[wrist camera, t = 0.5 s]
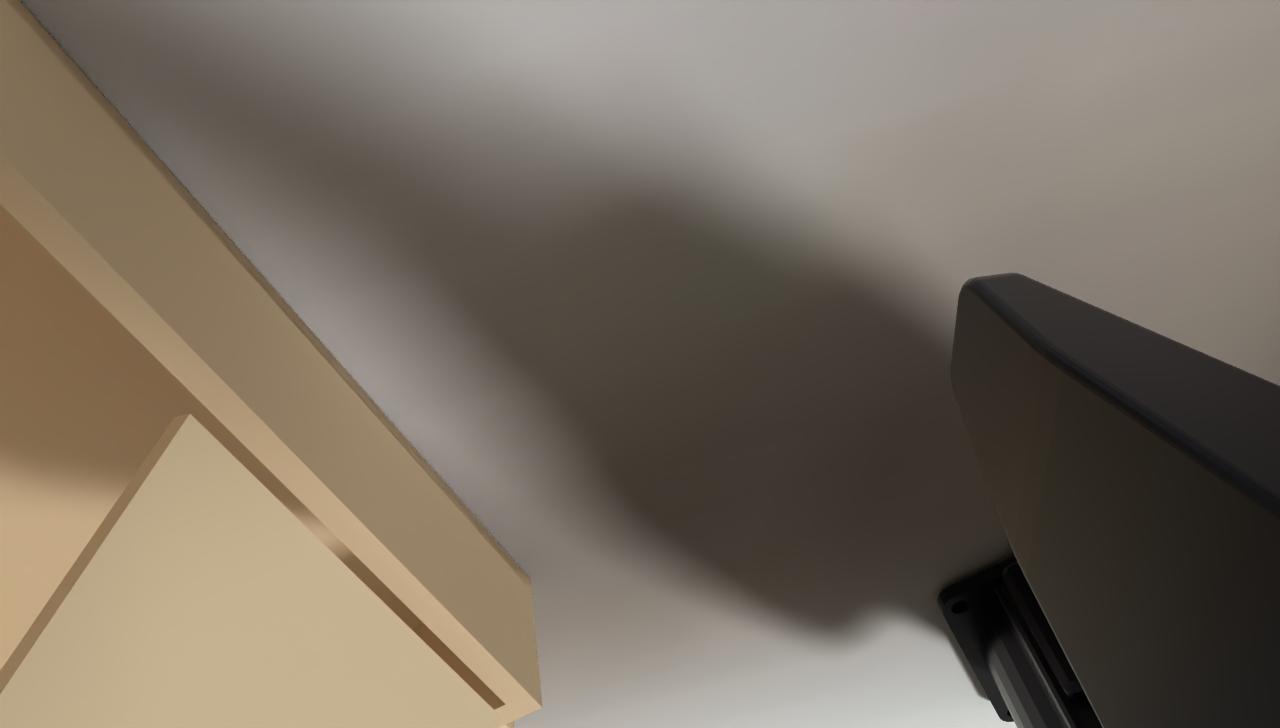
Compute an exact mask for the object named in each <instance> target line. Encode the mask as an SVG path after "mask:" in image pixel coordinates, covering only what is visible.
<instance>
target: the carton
mask: <svg viewBox="0 0 1280 728" xmlns="http://www.w3.org/2000/svg"><path fill="white" fill-rule="evenodd" d="M185 414H191V415H192V416H193V417H194V418H195V419H196V420H197V421H198V422H199V423H200V424H201V425H202V426H203V427H204V428H205V429H206V430H207V431H208V432H210V433H211V434H212V435H213V436H214V437H215V438H216V439H217V440H218V441H219V442H220V443H221V444H222V445H223V446H224V447H225V448H226V449H227V450H228V451H229V452H230V453H231V454H232V455H233V456H234V457H235V458H236V459H237V460H238V461H239V462H240V463H241V464H242V465H243V466H244V467H245V468H246V469H247V470H248V471H250V472H251V473H252V474H253V475H254V476H255V477H256V478H257V479H258V480H259V481H260V482H261V483H262V484H263V485H264V486H265V487H266V488H267V489H268V490H269V491H270V492H271V493H272V494H273V495H274V496H275V497H276V498H277V499H278V500H279V501H280V502H281V503H282V504H283V505H284V506H285V507H286V508H287V509H288V510H290V511H291V512H292V513H293V514H294V515H295V516H296V517H297V518H298V519H299V520H300V521H301V522H302V523H303V524H304V525H305V526H306V527H307V528H308V529H309V530H310V531H311V532H312V533H313V534H314V535H315V536H316V537H317V538H318V539H319V540H320V541H321V542H322V543H323V544H324V545H325V546H326V547H327V548H328V549H330V550H331V551H332V552H333V553H334V554H335V555H336V556H337V557H338V558H339V559H340V560H341V561H342V562H343V563H344V564H345V565H346V566H347V567H348V568H349V569H350V570H351V571H352V572H353V573H354V574H355V575H356V576H357V577H358V578H359V579H360V580H361V581H362V582H363V583H364V584H365V585H366V586H367V587H368V588H370V589H371V590H372V591H373V592H374V593H375V594H376V595H377V596H378V597H379V598H380V599H381V600H382V601H383V602H384V603H385V604H386V605H387V606H388V607H389V608H390V609H391V610H392V611H393V612H394V613H395V614H396V615H397V616H398V617H399V618H400V619H401V620H402V621H403V622H404V623H405V624H406V625H407V626H409V627H410V628H411V629H412V630H413V631H414V632H415V633H416V634H417V635H418V636H419V637H420V638H421V639H422V640H423V641H424V642H425V643H426V644H427V645H428V646H429V647H430V648H431V649H432V650H433V651H434V652H435V653H436V654H437V655H438V656H439V657H440V658H441V659H442V660H443V661H444V662H445V663H446V664H447V665H449V666H450V667H451V668H452V669H453V670H454V671H455V672H456V673H457V674H458V675H459V676H460V677H461V678H462V679H463V680H464V681H465V682H466V683H467V684H468V685H469V686H470V687H471V688H472V689H473V690H474V691H475V692H476V693H477V694H478V695H479V696H480V697H481V698H482V699H483V700H484V701H485V702H486V703H487V704H489V705H490V706H491V707H492V708H493V709H494V710H495V711H496V712H497V713H498V714H499V715H500V719H499V722H498V725H497V728H514V720H517V719H519V718H521V717H523V716H525V715H527V714H529V713H532V712H534V711H536V710H538V709H540V708H542V698H541V687H540V677H539V666H538V655H537V644H536V633H535V623H534V612H533V601H532V590H531V580H530V579H529V577H528V576H527V575H526V574H525V573H524V572H523V571H522V569H521V568H520V567H519V566H518V565H517V564H516V563H515V562H514V560H513V559H512V558H511V557H510V556H509V555H508V554H507V552H506V551H505V550H504V549H503V548H502V547H501V546H500V545H499V543H498V542H497V541H496V540H495V539H494V538H493V537H492V535H491V534H490V533H489V532H488V531H487V530H486V529H485V528H484V526H483V525H482V524H481V523H480V522H479V521H478V520H477V518H476V517H475V516H474V515H473V514H472V513H471V512H470V510H469V509H468V508H467V507H466V506H465V505H464V504H463V503H462V501H461V500H460V499H459V498H458V497H457V496H456V495H455V493H454V492H453V491H452V490H451V489H450V488H449V487H448V486H447V484H446V483H445V482H444V481H443V480H442V479H441V478H440V476H439V475H438V474H437V473H436V472H435V471H434V470H433V469H432V467H431V466H430V465H429V464H428V463H427V462H426V461H425V459H424V458H423V457H422V456H421V455H420V454H419V453H418V452H417V450H416V449H415V448H414V447H413V446H412V445H411V444H410V442H409V441H408V440H407V439H406V438H405V437H404V436H403V434H402V433H401V432H400V431H399V430H398V429H397V428H396V427H395V425H394V424H393V423H392V422H391V421H390V420H389V419H388V417H387V416H386V415H385V414H384V413H383V412H382V411H381V410H380V408H379V407H378V406H377V405H376V404H375V403H374V402H373V400H372V399H371V398H370V397H369V396H368V395H367V394H366V393H365V391H364V390H363V389H362V388H361V387H360V386H359V385H358V383H357V382H356V381H355V380H354V379H353V378H352V377H351V376H350V374H349V373H348V372H347V371H346V370H345V369H344V368H343V366H342V365H341V364H340V363H339V362H338V361H337V360H336V358H335V357H334V356H333V355H332V354H331V353H330V352H329V351H328V349H327V348H326V347H325V346H324V345H323V344H322V343H321V341H320V340H319V339H318V338H317V337H316V336H315V335H314V334H313V332H312V331H311V330H310V329H309V328H308V327H307V326H306V324H305V323H304V322H303V321H302V320H301V319H300V318H299V317H298V315H297V314H296V313H295V312H294V311H293V310H292V309H291V307H290V306H289V305H288V304H287V303H286V302H285V301H284V300H283V298H282V297H281V296H280V295H279V294H278V293H277V292H276V290H275V289H274V288H273V287H272V286H271V285H270V284H269V282H268V281H267V280H266V279H265V278H264V277H263V276H262V275H261V273H260V272H259V271H258V270H257V269H256V268H255V267H254V265H253V264H252V263H251V262H250V261H249V260H248V259H247V258H246V256H245V255H244V254H243V253H242V252H241V251H240V250H239V248H238V247H237V246H236V245H235V244H234V243H233V242H232V241H231V239H230V238H229V237H228V236H227V235H226V234H225V233H224V231H223V230H222V229H221V228H220V227H219V226H218V225H217V224H216V222H215V221H214V220H213V219H212V218H211V217H210V216H209V214H208V213H207V212H206V211H205V210H204V209H203V208H202V206H201V205H200V204H199V203H198V202H197V201H196V200H195V199H194V197H193V196H192V195H191V194H190V193H189V192H188V191H187V189H186V188H185V187H184V186H183V185H182V184H181V183H180V182H179V180H178V179H177V178H176V177H175V176H174V175H173V174H172V172H171V171H170V170H169V169H168V168H167V167H166V166H165V165H164V163H163V162H162V161H161V160H160V159H159V158H158V157H157V155H156V154H155V153H154V152H153V151H152V150H151V149H150V148H149V146H148V145H147V144H146V143H145V142H144V141H143V140H142V138H141V137H140V136H139V135H138V134H137V133H136V132H135V130H134V129H133V128H132V127H131V126H130V125H129V124H128V123H127V121H126V120H125V119H124V118H123V117H122V116H121V115H120V113H119V112H118V111H117V110H116V109H115V108H114V107H113V106H112V104H111V103H110V102H109V101H108V100H107V99H106V98H105V96H104V95H103V94H102V93H101V92H100V91H99V90H98V89H97V87H96V86H95V85H94V84H93V83H92V82H91V81H90V79H89V78H88V77H87V76H86V75H85V74H84V73H83V72H82V70H81V69H80V68H79V67H78V66H77V65H76V64H75V62H74V61H73V60H72V59H71V58H70V57H69V56H68V54H67V53H66V52H65V51H64V50H63V49H62V48H61V47H60V45H59V44H58V43H57V42H56V41H55V40H54V39H53V37H52V36H51V35H50V34H49V33H48V32H47V31H46V30H45V28H44V27H43V26H42V25H41V24H40V23H39V22H38V20H37V19H36V18H35V17H34V16H33V15H32V14H31V13H30V11H29V10H28V9H27V8H26V7H25V6H24V5H23V3H22V2H21V1H20V0H0V671H1V669H2V668H3V666H4V665H5V663H6V662H7V660H8V659H9V657H10V656H11V654H12V653H13V652H14V650H15V649H16V647H17V646H18V644H19V643H20V641H21V640H22V638H23V637H24V636H25V634H26V633H27V631H28V630H29V628H30V627H31V625H32V624H33V622H34V621H35V619H36V618H37V617H38V615H39V614H40V612H41V611H42V609H43V608H44V606H45V605H46V603H47V602H48V601H49V599H50V598H51V596H52V595H53V593H54V592H55V590H56V589H57V587H58V586H59V584H60V583H61V582H62V580H63V579H64V577H65V576H66V574H67V573H68V571H69V570H70V568H71V567H72V566H73V564H74V563H75V561H76V560H77V558H78V557H79V555H80V554H81V552H82V551H83V549H84V548H85V547H86V545H87V544H88V542H89V541H90V539H91V538H92V536H93V535H94V533H95V532H96V531H97V529H98V528H99V526H100V525H101V523H102V522H103V520H104V519H105V517H106V516H107V514H108V513H109V512H110V510H111V509H112V507H113V506H114V504H115V503H116V501H117V500H118V498H119V497H120V496H121V494H122V493H123V491H124V490H125V488H126V487H127V485H128V484H129V482H130V481H131V479H132V478H133V477H134V475H135V474H136V472H137V471H138V469H139V468H140V466H141V465H142V463H143V462H144V460H145V459H146V458H147V456H148V455H149V453H150V452H151V450H152V449H153V447H154V446H155V444H156V443H157V442H158V440H159V439H160V437H161V436H162V434H163V433H164V431H165V430H166V428H167V427H168V425H169V424H170V423H171V421H172V420H173V418H174V417H176V416H181V415H185Z"/></svg>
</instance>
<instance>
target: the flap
mask: <svg viewBox="0 0 1280 728" xmlns="http://www.w3.org/2000/svg"><path fill="white" fill-rule="evenodd" d="M499 719H500V715H499V714H498V713H497V712H496V711H495V710H494V709H493V708H492V707H491V706H490V705H489V704H487V703H486V702H485V701H484V700H483V699H482V698H481V697H480V696H479V695H478V694H477V693H476V692H475V691H474V690H473V689H472V688H471V687H470V686H469V685H468V684H467V683H466V682H465V681H464V680H463V679H462V678H461V677H460V676H459V675H458V674H457V673H456V672H455V671H454V670H453V669H452V668H451V667H450V666H449V665H447V664H446V663H445V662H444V661H443V660H442V659H441V658H440V657H439V656H438V655H437V654H436V653H435V652H434V651H433V650H432V649H431V648H430V647H429V646H428V645H427V644H426V643H425V642H424V641H423V640H422V639H421V638H420V637H419V636H418V635H417V634H416V633H415V632H414V631H413V630H412V629H411V628H410V627H409V626H407V625H406V624H405V623H404V622H403V621H402V620H401V619H400V618H399V617H398V616H397V615H396V614H395V613H394V612H393V611H392V610H391V609H390V608H389V607H388V606H387V605H386V604H385V603H384V602H383V601H382V600H381V599H380V598H379V597H378V596H377V595H376V594H375V593H374V592H373V591H372V590H371V589H370V588H368V587H367V586H366V585H365V584H364V583H363V582H362V581H361V580H360V579H359V578H358V577H357V576H356V575H355V574H354V573H353V572H352V571H351V570H350V569H349V568H348V567H347V566H346V565H345V564H344V563H343V562H342V561H341V560H340V559H339V558H338V557H337V556H336V555H335V554H334V553H333V552H332V551H331V550H330V549H328V548H327V547H326V546H325V545H324V544H323V543H322V542H321V541H320V540H319V539H318V538H317V537H316V536H315V535H314V534H313V533H312V532H311V531H310V530H309V529H308V528H307V527H306V526H305V525H304V524H303V523H302V522H301V521H300V520H299V519H298V518H297V517H296V516H295V515H294V514H293V513H292V512H291V511H290V510H288V509H287V508H286V507H285V506H284V505H283V504H282V503H281V502H280V501H279V500H278V499H277V498H276V497H275V496H274V495H273V494H272V493H271V492H270V491H269V490H268V489H267V488H266V487H265V486H264V485H263V484H262V483H261V482H260V481H259V480H258V479H257V478H256V477H255V476H254V475H253V474H252V473H251V472H250V471H248V470H247V469H246V468H245V467H244V466H243V465H242V464H241V463H240V462H239V461H238V460H237V459H236V458H235V457H234V456H233V455H232V454H231V453H230V452H229V451H228V450H227V449H226V448H225V447H224V446H223V445H222V444H221V443H220V442H219V441H218V440H217V439H216V438H215V437H214V436H213V435H212V434H211V433H210V432H208V431H207V430H206V429H205V428H204V427H203V426H202V425H201V424H200V423H199V422H198V421H197V420H196V419H195V418H194V417H193V416H192V415H191V414H185V415H181V416H176V417H174V418H173V420H172V421H171V423H170V424H169V425H168V427H167V428H166V430H165V431H164V433H163V434H162V436H161V437H160V439H159V440H158V442H157V443H156V444H155V446H154V447H153V449H152V450H151V452H150V453H149V455H148V456H147V458H146V459H145V460H144V462H143V463H142V465H141V466H140V468H139V469H138V471H137V472H136V474H135V475H134V477H133V478H132V479H131V481H130V482H129V484H128V485H127V487H126V488H125V490H124V491H123V493H122V494H121V496H120V497H119V498H118V500H117V501H116V503H115V504H114V506H113V507H112V509H111V510H110V512H109V513H108V514H107V516H106V517H105V519H104V520H103V522H102V523H101V525H100V526H99V528H98V529H97V531H96V532H95V533H94V535H93V536H92V538H91V539H90V541H89V542H88V544H87V545H86V547H85V548H84V549H83V551H82V552H81V554H80V555H79V557H78V558H77V560H76V561H75V563H74V564H73V566H72V567H71V568H70V570H69V571H68V573H67V574H66V576H65V577H64V579H63V580H62V582H61V583H60V584H59V586H58V587H57V589H56V590H55V592H54V593H53V595H52V596H51V598H50V599H49V601H48V602H47V603H46V605H45V606H44V608H43V609H42V611H41V612H40V614H39V615H38V617H37V618H36V619H35V621H34V622H33V624H32V625H31V627H30V628H29V630H28V631H27V633H26V634H25V636H24V637H23V638H22V640H21V641H20V643H19V644H18V646H17V647H16V649H15V650H14V652H13V653H12V654H11V656H10V657H9V659H8V660H7V662H6V663H5V665H4V666H3V668H2V669H1V671H0V728H497V725H498V722H499Z"/></svg>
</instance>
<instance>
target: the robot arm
mask: <svg viewBox="0 0 1280 728" xmlns="http://www.w3.org/2000/svg"><path fill="white" fill-rule="evenodd" d="M951 380H952V386H953V391H954V395H955V398H956V401H957V403H958V406H959V409H960V411H961V414H962V417H963V420H964V422H965V425H966V428H967V430H968V433H969V436H970V439H971V441H972V444H973V447H974V449H975V452H976V455H977V458H978V460H979V463H980V466H981V468H982V471H983V474H984V477H985V479H986V482H987V485H988V487H989V490H990V493H991V496H992V498H993V501H994V504H995V506H996V509H997V512H998V515H999V517H1000V520H1001V523H1002V525H1003V528H1004V530H1005V533H1006V535H1007V538H1008V540H1009V543H1010V545H1011V548H1012V550H1013V553H1014V555H1015V557H1012V558H1010V559H1008V560H1006V561H1004V562H1001V563H999V564H997V565H995V566H993V567H990V568H988V569H986V570H984V571H982V572H979V573H977V574H975V575H973V576H971V577H968V578H966V579H964V580H962V581H960V582H957V583H955V584H953V585H951V586H949V587H947V588H945V589H944V590H943V591H942V592H941V593H940V594H939V596H938V599H937V601H938V605H939V607H940V609H941V611H942V613H943V615H944V617H945V619H946V621H947V623H948V624H949V626H950V628H951V630H952V632H953V634H954V635H955V637H956V639H957V641H958V643H959V645H960V646H961V648H962V650H963V652H964V654H965V655H966V657H967V659H968V661H969V663H970V665H971V666H972V668H973V670H974V672H975V674H976V676H977V677H978V679H979V681H980V683H981V685H982V686H983V688H984V690H985V692H986V694H987V696H988V697H989V699H990V701H991V703H992V705H993V707H994V708H995V710H996V712H997V714H998V716H999V717H1000V719H1002V720H1003V721H1006V722H1013V721H1014V722H1015V724H1016V726H1017V728H1280V386H1278V385H1276V384H1274V383H1271V382H1269V381H1267V380H1264V379H1262V378H1260V377H1257V376H1255V375H1253V374H1250V373H1248V372H1246V371H1244V370H1241V369H1239V368H1237V367H1234V366H1232V365H1230V364H1227V363H1225V362H1223V361H1220V360H1218V359H1216V358H1213V357H1211V356H1209V355H1206V354H1204V353H1202V352H1200V351H1197V350H1195V349H1193V348H1190V347H1188V346H1186V345H1183V344H1181V343H1179V342H1176V341H1174V340H1172V339H1169V338H1167V337H1165V336H1162V335H1160V334H1158V333H1156V332H1153V331H1151V330H1149V329H1146V328H1144V327H1142V326H1139V325H1137V324H1135V323H1132V322H1130V321H1128V320H1125V319H1123V318H1121V317H1119V316H1116V315H1114V314H1112V313H1109V312H1107V311H1105V310H1102V309H1100V308H1098V307H1095V306H1093V305H1091V304H1088V303H1086V302H1084V301H1082V300H1079V299H1077V298H1075V297H1072V296H1070V295H1068V294H1065V293H1063V292H1061V291H1058V290H1056V289H1054V288H1051V287H1049V286H1047V285H1045V284H1042V283H1040V282H1038V281H1035V280H1033V279H1031V278H1028V277H1026V276H1024V275H1021V274H1018V273H1005V274H998V275H990V276H983V277H976V278H971V279H969V280H968V281H966V282H965V284H964V285H963V286H962V289H961V291H960V294H959V298H958V306H957V315H956V324H955V333H954V342H953V351H952V360H951Z"/></svg>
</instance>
